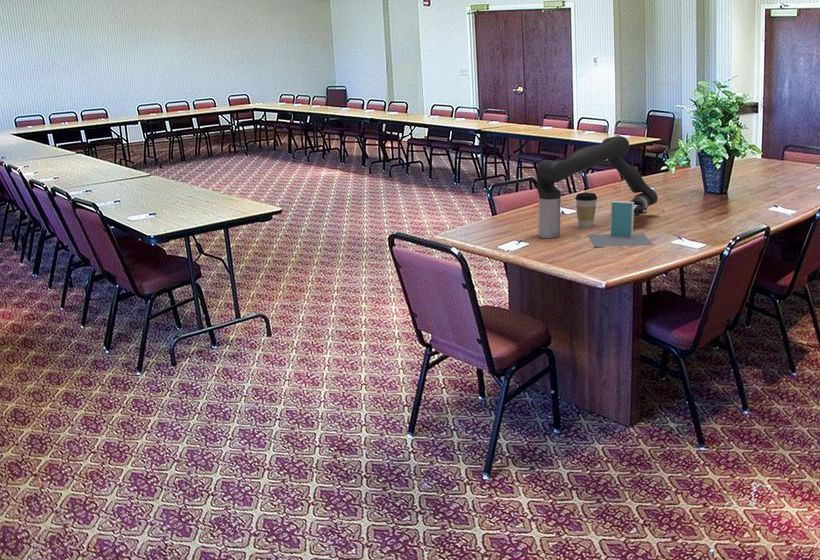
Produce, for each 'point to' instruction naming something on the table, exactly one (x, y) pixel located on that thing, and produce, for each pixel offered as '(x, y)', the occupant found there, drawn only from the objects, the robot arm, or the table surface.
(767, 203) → the table surface
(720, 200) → the table surface
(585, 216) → the coffee cup
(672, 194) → the table surface
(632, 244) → the mat
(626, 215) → the tile
